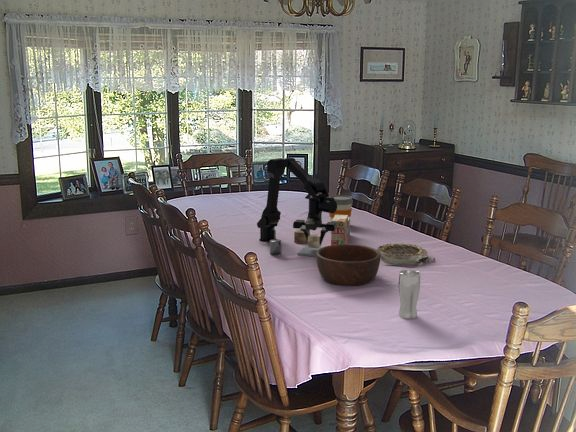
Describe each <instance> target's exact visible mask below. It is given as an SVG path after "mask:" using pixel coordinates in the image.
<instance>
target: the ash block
mask: <svg viewBox="0 0 576 432" xmlns="http://www.w3.org/2000/svg"><path fill="white" fill-rule="evenodd" d="M320 235H321V233H310V235H309V236H308V242H307V246H308V247H309V248H320V247H322V244H323V243H322V244H321V245H320Z"/></svg>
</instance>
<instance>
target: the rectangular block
mask: <svg viewBox="0 0 576 432" xmlns="http://www.w3.org/2000/svg"><path fill="white" fill-rule="evenodd" d="M293 234H294V235H293V237H294V238H293V239H294V241H293V242H294V243H299V244H300V243H301V244H305V243H306V242H307V239H306V236H305V234H304V232H303V231H301V230H300V229H295V231H294V233H293Z"/></svg>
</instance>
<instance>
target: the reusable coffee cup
mask: <svg viewBox="0 0 576 432" xmlns="http://www.w3.org/2000/svg"><path fill="white" fill-rule="evenodd" d="M329 197H334V200H335V201H336V203H337V210H336V211H335V213H333V214H332V213H328V215H329V216H328V217H330V219H329V220H330V222H331V221H332V219H333V218H334V216H335V215H348V217H350V218H351V216H352V210H353V208H352V204H353V197H352V196H350V195H346V194H334V195H329Z"/></svg>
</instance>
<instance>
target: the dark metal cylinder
mask: <svg viewBox="0 0 576 432" xmlns="http://www.w3.org/2000/svg"><path fill="white" fill-rule="evenodd" d="M270 254H271V255H270ZM269 255H270V256H280V255H282V240H281V239H280V238H279V239H277V238H275V239H272V240H270V241H269Z"/></svg>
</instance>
